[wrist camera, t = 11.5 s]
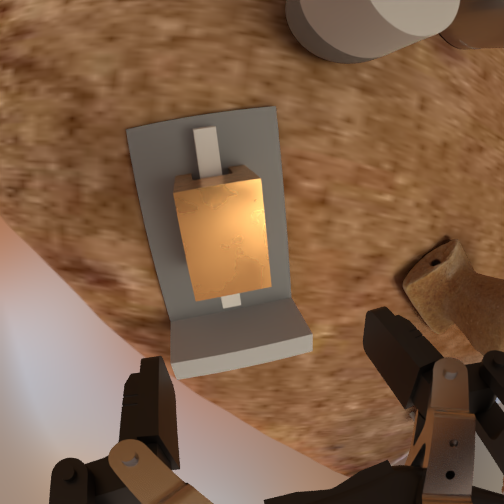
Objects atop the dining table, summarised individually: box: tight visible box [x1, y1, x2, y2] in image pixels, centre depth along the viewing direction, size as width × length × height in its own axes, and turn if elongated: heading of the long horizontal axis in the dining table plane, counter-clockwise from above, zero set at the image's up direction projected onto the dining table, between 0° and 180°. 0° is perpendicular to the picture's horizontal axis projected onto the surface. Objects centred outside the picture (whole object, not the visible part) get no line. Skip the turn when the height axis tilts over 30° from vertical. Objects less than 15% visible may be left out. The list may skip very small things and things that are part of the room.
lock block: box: [173, 165, 272, 301], centre depth 24 cm, size 8×6×6 cm
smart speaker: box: [285, 0, 460, 64], centre depth 16 cm, size 10×9×14 cm
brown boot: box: [403, 239, 504, 356], centre depth 31 cm, size 15×12×15 cm
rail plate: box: [126, 106, 312, 380], centre depth 25 cm, size 20×12×7 cm, turn 6°
